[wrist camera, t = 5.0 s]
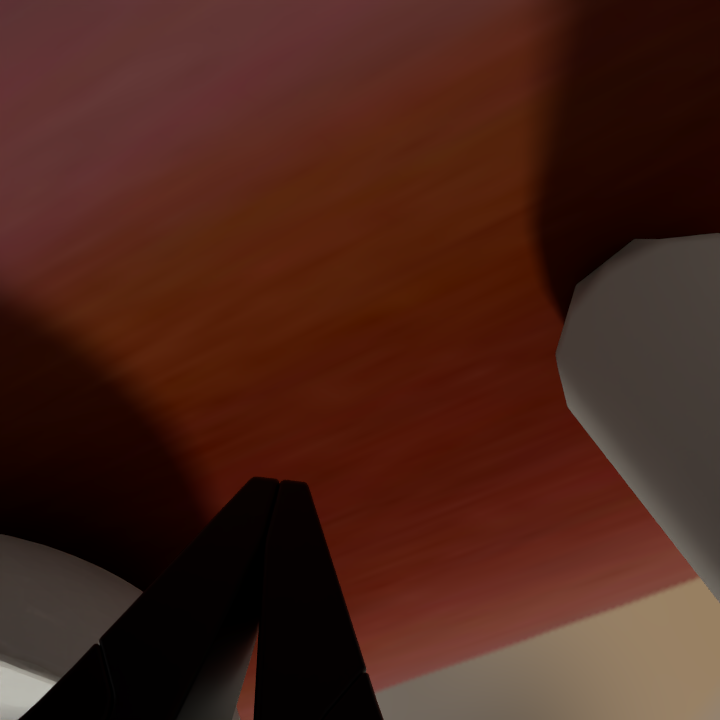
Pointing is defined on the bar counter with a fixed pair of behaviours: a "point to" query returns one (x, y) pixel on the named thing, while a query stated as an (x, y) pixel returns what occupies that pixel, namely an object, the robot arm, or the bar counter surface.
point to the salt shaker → (655, 382)
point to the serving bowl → (50, 618)
